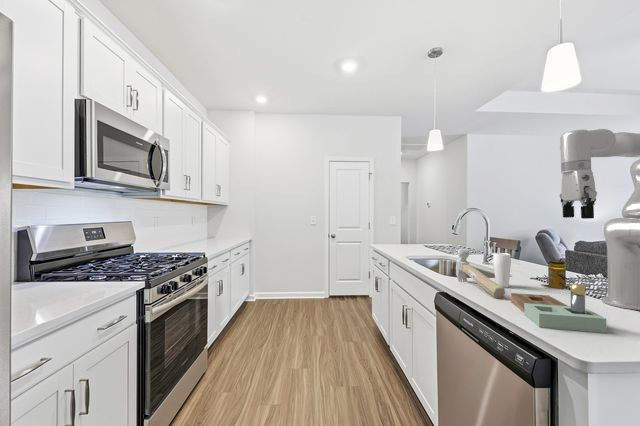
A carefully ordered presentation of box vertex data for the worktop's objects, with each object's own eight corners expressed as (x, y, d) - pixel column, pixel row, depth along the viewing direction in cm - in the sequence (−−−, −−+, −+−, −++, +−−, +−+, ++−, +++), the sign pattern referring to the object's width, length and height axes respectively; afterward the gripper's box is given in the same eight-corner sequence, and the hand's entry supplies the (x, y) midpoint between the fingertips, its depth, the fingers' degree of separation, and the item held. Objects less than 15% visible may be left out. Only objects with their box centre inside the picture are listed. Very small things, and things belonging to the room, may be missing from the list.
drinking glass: (495, 287, 126) (494, 254, 126) (492, 284, 132) (491, 252, 132) (512, 289, 123) (512, 255, 123) (509, 285, 130) (508, 253, 130)
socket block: (548, 304, 102) (548, 295, 102) (568, 316, 90) (568, 305, 90) (511, 302, 105) (511, 293, 105) (525, 313, 93) (525, 302, 93)
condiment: (570, 290, 121) (569, 262, 121) (546, 288, 124) (545, 261, 124) (562, 286, 128) (562, 260, 128) (539, 284, 131) (539, 259, 131)
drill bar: (581, 323, 85) (580, 283, 85) (587, 327, 82) (587, 286, 82) (568, 322, 86) (568, 283, 86) (574, 326, 83) (574, 285, 83)
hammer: (508, 275, 108) (466, 248, 137) (496, 275, 108) (456, 248, 137) (502, 311, 111) (462, 277, 141) (490, 311, 111) (453, 277, 140)
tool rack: (583, 319, 87) (583, 307, 87) (606, 333, 78) (606, 318, 78) (524, 315, 92) (524, 303, 92) (539, 327, 82) (539, 313, 82)
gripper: (608, 162, 85) (610, 218, 86) (572, 170, 102) (574, 216, 102) (579, 164, 87) (581, 219, 87) (548, 171, 104) (550, 217, 104)
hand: (577, 217), depth 95 cm, fingers open, 9 cm apart
